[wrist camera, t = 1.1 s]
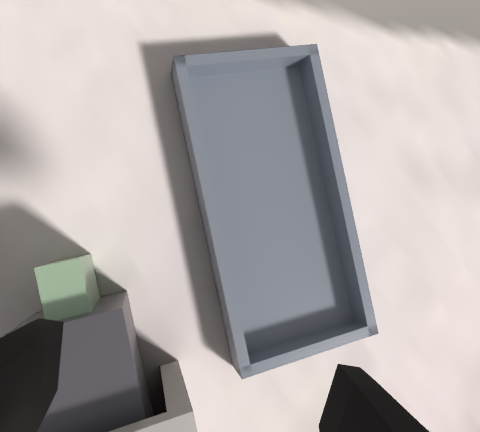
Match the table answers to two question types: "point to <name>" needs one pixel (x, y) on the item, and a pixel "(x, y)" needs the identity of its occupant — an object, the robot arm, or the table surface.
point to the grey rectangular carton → (91, 352)
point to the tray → (273, 204)
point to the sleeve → (169, 406)
